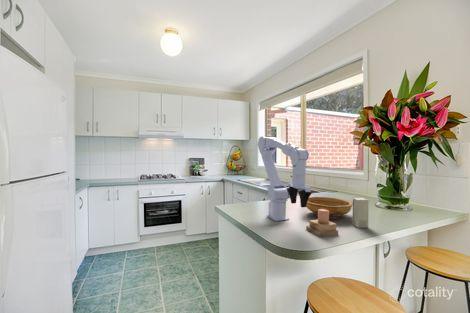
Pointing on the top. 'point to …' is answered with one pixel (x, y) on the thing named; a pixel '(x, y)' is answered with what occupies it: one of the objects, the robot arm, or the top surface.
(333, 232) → the bottom block
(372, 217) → the top surface
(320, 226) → the top block
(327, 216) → the peach capsule
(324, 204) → the wooden bowl
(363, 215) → the box
